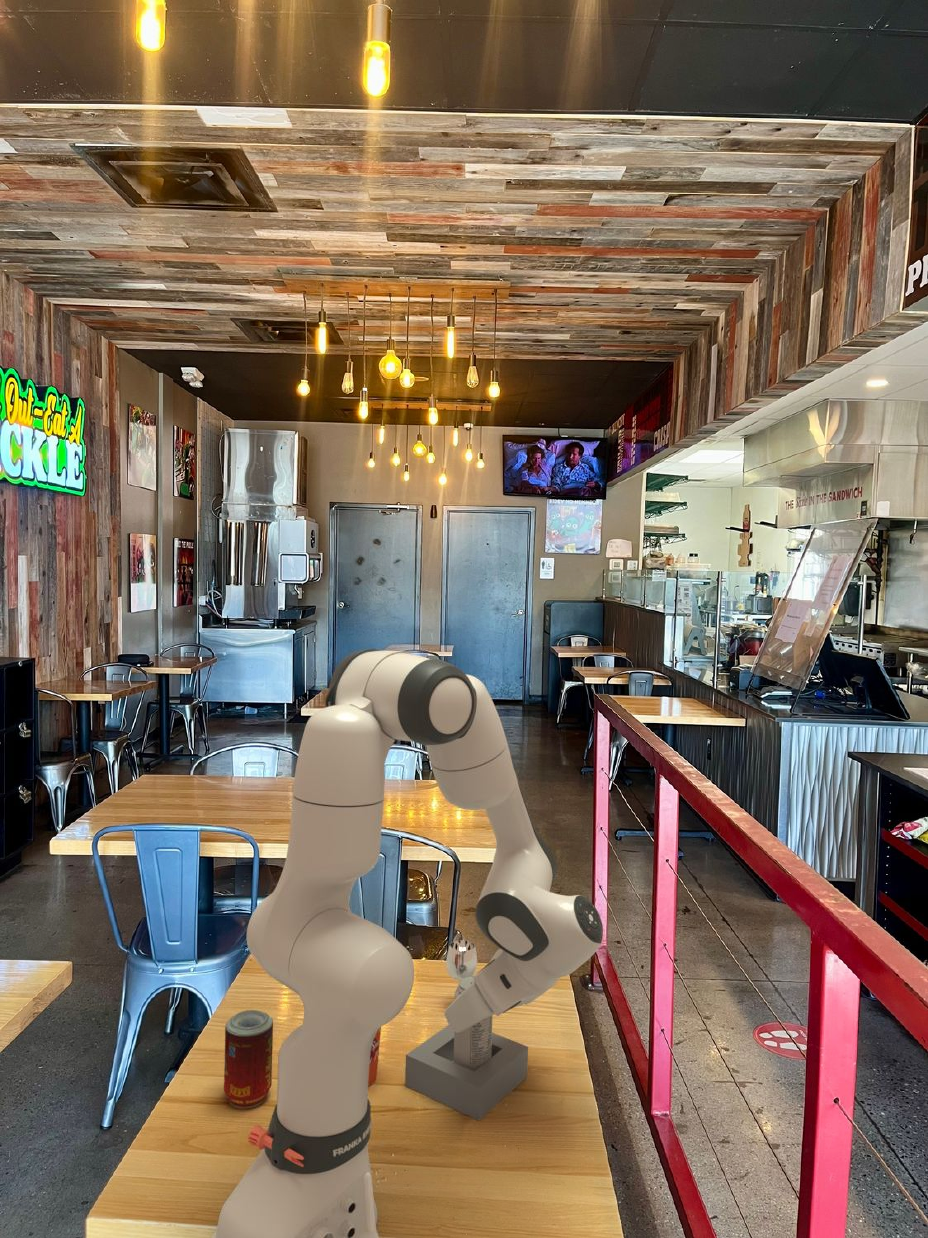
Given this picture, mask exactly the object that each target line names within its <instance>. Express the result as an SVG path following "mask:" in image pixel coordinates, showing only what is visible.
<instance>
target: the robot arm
mask: <svg viewBox="0 0 928 1238" xmlns="http://www.w3.org/2000/svg"><path fill="white" fill-rule="evenodd" d="M333 671H334V672H333V674H332V675H331V679H330V681H329V686H328V691H327V694H326V695H325V698H324V706H325V707H323V708H321V709H320V710H317V711H316V712H314V713H313V714H312V715H310V717H309V718H308V720H307V722H306V725H305V728H304V732H303V735H302V738H301V742H300V745H299V749H298V750H299V751H298V755H297V760H296V766H295V773H294V779H293V788H292V800H291V801H292V802H291V813H290V825H289V835H288V842H287V843H288V845H287V852H286V858H285V861H284V865H283V868H282V872H281V874H280V877H279V880H278V881H277V885H276V886H275V889H274V890H273V892H272V893H271V894H269V895H268V896H266V897H265V898H264V899H263V900H262V901H261V902H259V904H258V905H257V906H256V908H255V909H254V911H253V912H252V915H251V916H250V919H249V922H248V925H247V929H246V944H247V948H248V950H249V952H250V954H251V955H252V957H253V958H254V959H255V961H256V962H257V963H258V964H259V965H260V967H261V968H262V970H263V971H264V972H265V973H266V974H267V975H268V976H269V977H271V978H272V979H274V980H276V981H277V982H279V983H280V984H282V985H283V986H285V988H288V989H289V990H291V991H293V992H294V993H295V994H297V995H298V996H299V997H300V1000H301V1002H302V1006H303V1020H302V1024H301V1025H299V1026H297V1027H296V1028H295V1029H294V1030H292V1031H291V1032H290V1033H289V1034H288V1036H287V1037H286V1038H285V1039H284V1040H283V1042H282V1044H281V1045H280V1048H279V1051H278V1053H277V1054H278V1055H277V1057H278V1058H277V1089H276V1095H277V1096H276V1104H275V1105H274V1109H273V1113H272V1115H271V1119H270V1122H269V1125H268V1127H267V1128H268V1129H267V1130H265V1129H264V1128H263V1127H262V1126H261V1125H255V1126H253V1127H252V1128H251V1130H250V1132H249V1133H248V1137H247V1140H248V1143H249V1144H250V1145H251V1146H256V1147H257V1149H259V1150H261V1151H260V1152H259V1154H258V1155H257V1156H256V1158H255V1159H254V1161H253V1162H252V1164H251V1165H250V1167H249V1168H248V1170H247V1171H246V1172H245V1173H244V1175H243V1177H242V1178H241V1179H240V1181H239V1182H238V1183H237V1185H236V1187H235V1188H234V1190H232V1192H231V1194H230V1195H229V1197H228V1198H227V1199H226V1200H225V1202H224V1203H223V1205H222V1207H221V1209H220V1213H219V1217H218V1222H217V1227H216V1231H215V1232H214V1233H213V1234H212V1235H211V1236H210V1237H209V1238H380V1236H379V1232H378V1230H377V1223H378V1207H377V1203H376V1201H375V1197H374V1190H373V1177H372V1169H371V1162H370V1156H369V1154H370V1153H369V1146H368V1145H369V1140H370V1138H371V1129H372V1121H373V1120H372V1117H371V1115H372V1114H371V1112H372V1111H371V1110H372V1109H371V1108H372V1107H371V1103H370V1102H371V1101H370V1100H369V1087H368V1079H369V1064H370V1053H371V1047H372V1043H373V1040H374V1037H375V1035H376V1032H377V1031H378V1029H379V1028H380V1027H381V1028H382V1027H383V1026H385V1025H387V1024H388V1023H390V1022H391V1021H393V1020H394V1019H395V1018H396V1017H397V1016H398V1015H400V1013H401V1012H402V1010H403V1009H404V1008H405V1006H406V1004H407V1003H408V1000H409V998H410V996H411V993H412V990H413V986H414V980H415V964H414V961H413V956H412V955H411V953H410V952H409V950H408V949H407V948H406V947H405V946H404V945H403V944H402V943H401V942H400V941H398V939H397V938H396V937H394V936H393V935H392V934H391V933H390V932H389V931H388V930H386V929H385V928H384V927H382V926H380V925H378V924H376V923H374V922H371V921H370V920H367V919H365V918H363V917H361V916H359V915H357V914H355V913H353V912H352V910H351V907H350V899H351V895H352V894H351V893H352V891H353V888H354V885H355V883H356V880H357V879H358V880H359V878H363V876H365V875H366V874H369V872H370V871H372V869H374V868H375V866H376V865H377V863H378V861H379V858H380V854H381V853H380V852H381V841H382V840H381V839H382V826H383V815H384V814H383V813H384V804H385V803H384V800H385V799H384V798H385V785H386V784H385V782H386V781H385V778H386V777H385V775H386V771H385V769H386V768H385V763H386V762H387V761H386V760H387V758H388V755H389V752H390V750H391V749H392V747H393V745H394V743H395V741H404V742H413V743H416V744H419V745H422V746H425V747H426V751H427V755H428V757H429V758H428V759H429V762H430V766H431V770H432V773H433V776H434V779H435V782H436V784H437V786H438V788H439V791H440V792H441V794H442V796H443V797H444V799H445V800H446V802H448V803H449V804H451V805H453V806H454V807H456V808H460V809H463V810H467V811H481V810H485V813H486V815H487V818H488V820H489V823H490V826H491V829H492V831H493V834H494V838H495V841H496V846H495V847H496V848H495V853H494V856H493V860H492V861H493V862H492V865H491V868H490V870H489V873H488V875H487V878H486V881H485V883H484V885H483V887H482V890H481V892H480V895H479V898H478V901H477V904H476V907H475V912H474V913H475V914H474V915H475V920H476V923H477V926H478V927H479V930H480V931H481V932H482V933H483V935H484V936H485V937H486V938H487V939H488V940H489V941H490V942H491V943H493V944H494V945H496V947H498V948H499V949H498V950H496V952H495V953H494V954H493V956H492V958H491V959H490V961H489V962H488V963H487V964H486V965H485V966H484V967H483V968H482V969H480V970H479V971H478V972H477V973H475V974H474V982H473V983H472V984H470V985H469V986H468V987H467V988H466V989H465V990H464V991H463V992H462V993H461V994H460V995H459V996H458V997H457V998H456V999H455V998H454V1000H453V1001H452V1002H451V1003H450V1004H449V1005H448V1006H447V1008H445V1011H444V1017H445V1019H446V1021H447V1023H448V1024H447V1025H450V1027H451V1028H452V1029H453V1031H454V1032H455V1033H460V1032H463V1031H465V1030H467V1029H468V1028H470V1027H472V1026H474V1025H476V1024H478V1023H479V1022H481V1021H483V1020H485V1019H486V1018H488V1017H490V1016H492V1017H493V1015H495V1016H498V1017H499V1016H501V1015H502V1014H505V1013H507V1012H508V1011H509V1010H511V1009H513V1008H514V1009H515V1008H517V1007H520V1006H523V1005H528V1004H529V1005H530V1004H531V1003H533V1002H534V1001H535V1000H536V999H538V998H539V997H540V996H542V995H543V994H545V993H547V991H549V990H550V989H551V988H553V987H554V986H555V985H556V983H557V982H558V981H559V979H560V978H564V977H567V976H569V975H570V974H572V973H573V972H575V971H576V970H578V969H579V968H580V967H581V966H582V965H584V963H586V962H587V961H588V960H589V959H590V958H591V957H592V956H594V954H595V953H596V952H597V951H598V950H599V948H600V947H601V945H602V942H603V937H604V926H603V922H602V918H601V916H600V913H599V911H598V910H597V908H596V906H595V905H594V904H593V903H592V901H591V900H590V899H589V898H588V897H586V896H584V895H582V894H577V895H564V894H558V893H555V892H551V889H552V887H553V885H554V882H555V880H556V877H557V874H558V864H557V861H556V858H555V855H554V854H553V852H552V850H551V849H550V847H549V846H548V845H547V844H546V842H545V841H544V840H543V838H542V836H541V835H540V834H539V832H538V830H537V828H536V826H535V823H534V821H533V818H532V815H531V813H530V812H531V811H530V809H529V806H528V803H527V801H526V798H525V794H524V791H523V788H522V786H521V784H520V781H519V778H518V776H517V774H516V771H515V769H514V764H513V761H512V755H511V753H510V752H511V751H510V748H509V744H508V740H507V737H506V735H505V731H504V727H503V724H502V721H501V717H500V716H499V713H498V711H497V709H496V706H495V704H494V701H493V699H492V697H491V695H490V693H489V691H488V690H487V688H486V686H485V684H484V683H483V682H482V681H481V680H480V679H478V678H477V677H475V676H473V675H471V674H466V673H465V672H464V671H463V670H461V669H460V668H459V667H458V666H455V665H454V664H452V663H450V662H448V661H445V660H443V659H439V658H428V657H426V656H421V655H417V654H414V653H411V652H409V651H403V650H401V651H400V650H381V649H376V648H369V649H368V648H367V649H361V650H357V651H354V652H352V653H350V654H348V655H346V656H345V657H344V658H343V659H342V660H341V661H339V663H338V664H337V666H336V668H335V669H334V670H333Z"/></svg>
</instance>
